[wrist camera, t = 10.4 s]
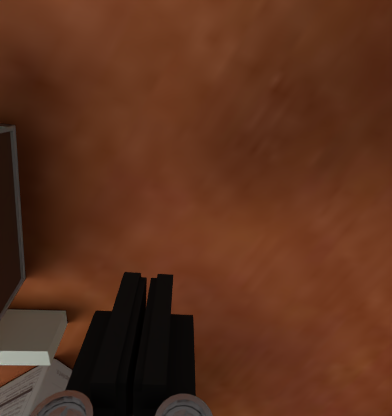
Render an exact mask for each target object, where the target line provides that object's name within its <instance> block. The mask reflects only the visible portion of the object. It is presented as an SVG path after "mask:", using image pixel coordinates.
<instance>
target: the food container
mask: <svg viewBox="0 0 392 416" xmlns="http://www.w3.org/2000/svg"><path fill="white" fill-rule="evenodd" d="M25 279H26V278H25V263H24V248H23V233H22V218H21V203H20V188H19V173H18V158H17V143H16V128H15V125H10V124H0V321H1V319H2V317H3V316H4V314H5V312H6V311H7V309H8V307H9V306H10V304H11V302H12V301H13V299H14V297H15V296H16V294H17V292H18V291H19V289H20V287H21V286H22V284H23V282H24V281H25Z"/></svg>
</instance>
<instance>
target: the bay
mask: <svg viewBox="0 0 392 416" xmlns="http://www.w3.org/2000/svg"><path fill="white" fill-rule="evenodd" d="M66 326H67V317H66V311H56V310H15V309H7V311H6V312H5V314H4V316H3V317H2V319H1V321H0V365H51V363H52V361H53V358H54V356H55V353H56V351H57V348H58V346H59V343H60V341H61V339H62V336H63V334H64V331H65V329H66Z"/></svg>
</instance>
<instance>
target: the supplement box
mask: <svg viewBox="0 0 392 416" xmlns="http://www.w3.org/2000/svg"><path fill="white" fill-rule="evenodd" d="M72 371H73V370H71V369H70V368H68V367H67V366H65V365H64V364H62V363H61V362H60V361H58V360H56V359H53V361H52V363H51V365H39V366H38V367H36V368H34V369H32V370H30V371H29V372H27V373H25V374H23V375H22V376H20V377H18V378H16V379H15V380H13V381H11V382H9V383H8V384H6V385H4V386H2V387H1V388H0V416H30V414H31V413H32V412H33V410H34V409H35V408H36V406H37V405H38V404H40V403H41V402H42V401H43V400H44V399H46V398H47V397H49V396H51V395H53V394H55V393H57V392H61V391H65V389H66V386H67V384H68V381H69V378H70V376H71V373H72Z"/></svg>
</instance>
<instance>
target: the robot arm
mask: <svg viewBox="0 0 392 416" xmlns="http://www.w3.org/2000/svg"><path fill="white" fill-rule="evenodd" d="M146 282H147V279H146V278H144V277H141V273H132V272H125V273H124V275H123V278H122V281H121V284H120V288H119V291H118V294H117V297H116V300H115V304H114V307H113V310H112V311H96V312H95V314H94V316H93V318H92V321H91V324H90V326H89V329H88V331H87V334H86V337H85V339H84V342H83V344H82V347H81V350H80V352H79V355H78V358H77V360H76V363H75V365H74V368H73V371H72V373H71V376H70V378H69V381H68V384H67V386H66V389H65V391H61V392H57V393H55V394H53V395H51V396H49V397H47V398H46V399H44V400H43V401H42V402H41V403H40V404H38V405H37V406H36V408H35V409H34V410H33V412H32V413H31V414H30V416H213V415H212V413H211V410H210V409H209V407H208V406H207V405H206V403H205V402H204V401H202V400H201V399H200V398H198V397H196V393H195V360H194V326H193V315H177V314H171V301H172V286H173V275H167V274H158V275H157V278H151V282H150V288H149V293H148V299H147V305H146Z"/></svg>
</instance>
